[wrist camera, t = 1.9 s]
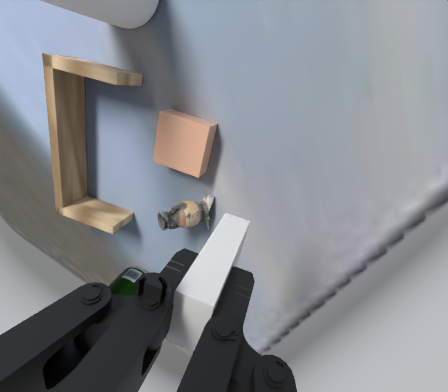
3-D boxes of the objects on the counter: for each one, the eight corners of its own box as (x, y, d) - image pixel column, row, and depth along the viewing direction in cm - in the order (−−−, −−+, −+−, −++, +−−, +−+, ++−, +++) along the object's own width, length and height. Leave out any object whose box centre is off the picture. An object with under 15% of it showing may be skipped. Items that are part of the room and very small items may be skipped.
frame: (142, 74, 30) (117, 72, 26) (132, 219, 38) (112, 234, 35) (75, 57, 31) (42, 53, 27) (81, 200, 40) (56, 212, 36)
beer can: (123, 261, 43) (62, 319, 32) (152, 268, 41) (98, 330, 31) (127, 286, 45) (71, 348, 34) (155, 294, 43) (105, 360, 33)
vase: (173, 218, 36) (150, 237, 31) (178, 182, 34) (154, 195, 29) (209, 229, 35) (191, 251, 30) (216, 193, 33) (198, 209, 28)
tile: (218, 123, 30) (209, 126, 27) (207, 170, 32) (198, 177, 30) (171, 108, 31) (159, 110, 28) (164, 155, 33) (152, 161, 31)
